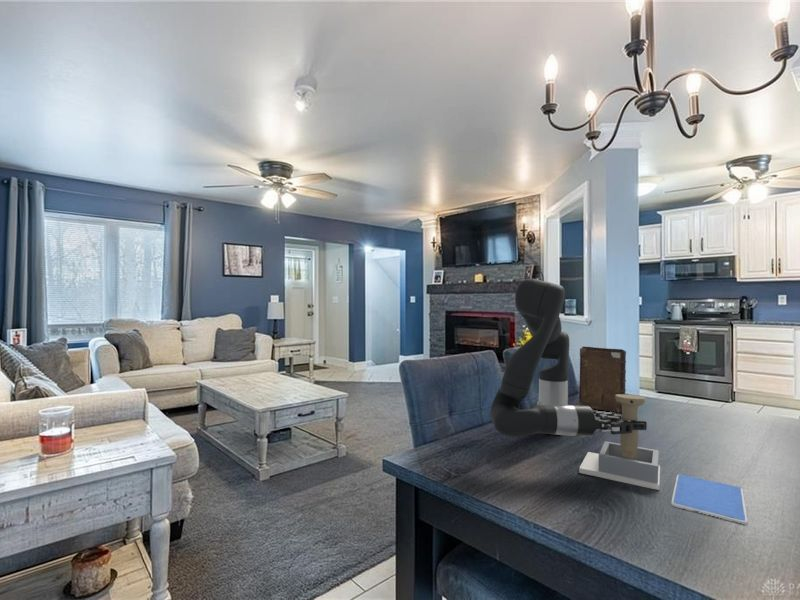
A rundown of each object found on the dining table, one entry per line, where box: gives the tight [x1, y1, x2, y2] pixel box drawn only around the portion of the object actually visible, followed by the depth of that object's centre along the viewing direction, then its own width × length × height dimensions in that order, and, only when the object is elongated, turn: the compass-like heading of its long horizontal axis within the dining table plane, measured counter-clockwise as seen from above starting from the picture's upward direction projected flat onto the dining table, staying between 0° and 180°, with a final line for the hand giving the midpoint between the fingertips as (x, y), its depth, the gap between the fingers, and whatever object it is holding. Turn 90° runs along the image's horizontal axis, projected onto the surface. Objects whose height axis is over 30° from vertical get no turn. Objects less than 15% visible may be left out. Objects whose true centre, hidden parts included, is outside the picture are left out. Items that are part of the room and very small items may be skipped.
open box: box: [578, 440, 661, 491], centre depth 104 cm, size 17×14×5 cm
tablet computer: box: [670, 474, 749, 525], centre depth 90 cm, size 19×13×1 cm, turn 143°
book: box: [578, 346, 627, 414], centre depth 165 cm, size 17×7×25 cm, turn 54°
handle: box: [615, 393, 646, 458], centre depth 103 cm, size 5×6×15 cm
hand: (640, 422), depth 103 cm, fingers closed on handle, 3 cm apart
